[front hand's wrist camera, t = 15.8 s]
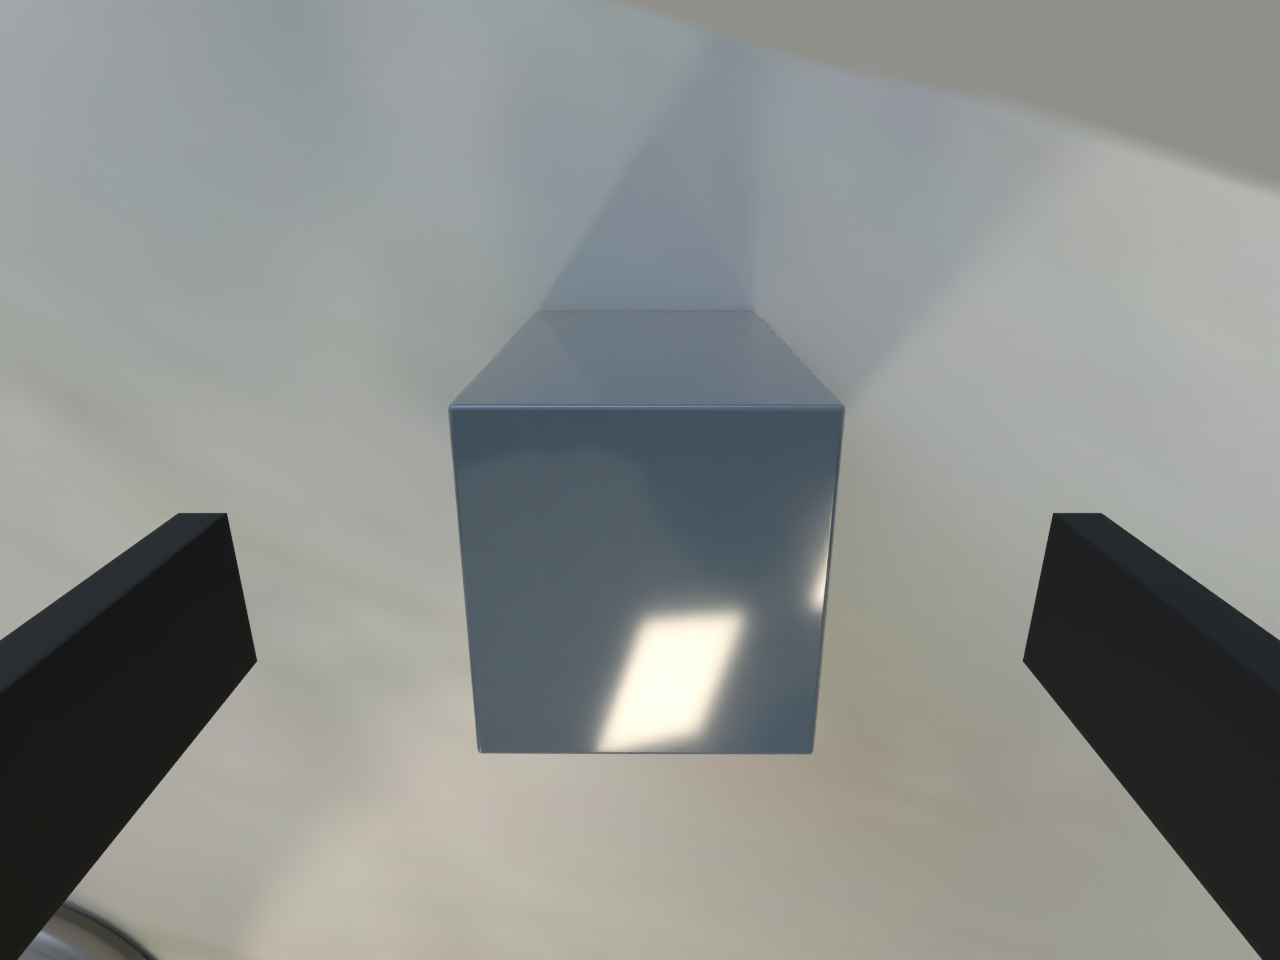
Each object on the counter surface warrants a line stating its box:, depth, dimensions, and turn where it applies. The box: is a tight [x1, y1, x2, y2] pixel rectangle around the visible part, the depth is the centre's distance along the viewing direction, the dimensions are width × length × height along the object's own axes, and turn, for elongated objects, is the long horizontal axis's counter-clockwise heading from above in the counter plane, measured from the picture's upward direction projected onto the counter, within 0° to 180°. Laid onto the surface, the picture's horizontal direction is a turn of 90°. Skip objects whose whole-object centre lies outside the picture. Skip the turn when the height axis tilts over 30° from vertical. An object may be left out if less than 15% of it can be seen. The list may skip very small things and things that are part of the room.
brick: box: [448, 311, 845, 754], centre depth 18 cm, size 6×6×10 cm
